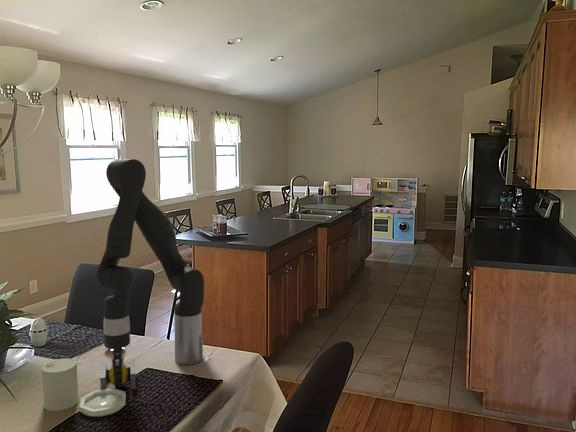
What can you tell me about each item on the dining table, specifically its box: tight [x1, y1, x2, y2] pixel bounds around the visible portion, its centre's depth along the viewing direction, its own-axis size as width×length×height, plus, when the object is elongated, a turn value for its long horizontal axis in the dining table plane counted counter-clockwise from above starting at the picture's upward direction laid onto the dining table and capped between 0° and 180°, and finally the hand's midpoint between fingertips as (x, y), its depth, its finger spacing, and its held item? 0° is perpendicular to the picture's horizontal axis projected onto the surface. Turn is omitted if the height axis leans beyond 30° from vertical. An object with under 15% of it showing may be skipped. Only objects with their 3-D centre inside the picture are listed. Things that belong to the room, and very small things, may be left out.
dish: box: [79, 387, 126, 418], centre depth 135 cm, size 12×12×2 cm
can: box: [41, 357, 80, 412], centre depth 135 cm, size 9×9×12 cm
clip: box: [99, 358, 137, 390], centre depth 147 cm, size 10×11×5 cm
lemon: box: [108, 364, 129, 386], centre depth 145 cm, size 6×6×8 cm
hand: (118, 381), depth 145 cm, fingers closed on lemon, 5 cm apart
